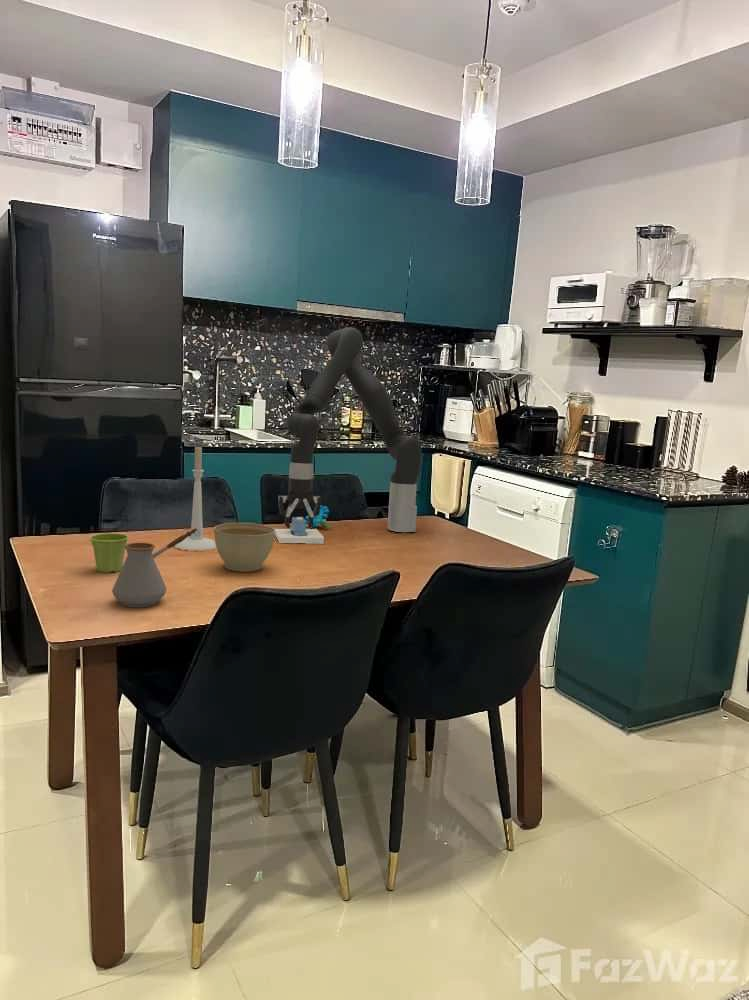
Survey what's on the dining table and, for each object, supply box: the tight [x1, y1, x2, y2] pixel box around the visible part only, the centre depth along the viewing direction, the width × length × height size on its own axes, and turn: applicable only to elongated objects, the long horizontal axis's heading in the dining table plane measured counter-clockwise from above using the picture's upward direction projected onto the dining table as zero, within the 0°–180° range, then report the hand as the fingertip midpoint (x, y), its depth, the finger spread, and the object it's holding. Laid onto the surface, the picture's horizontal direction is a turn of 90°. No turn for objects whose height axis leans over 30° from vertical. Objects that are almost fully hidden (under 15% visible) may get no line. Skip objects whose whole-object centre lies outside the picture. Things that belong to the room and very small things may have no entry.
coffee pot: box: [111, 528, 200, 608], centre depth 166 cm, size 21×12×15 cm, turn 140°
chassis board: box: [274, 528, 325, 545], centre depth 236 cm, size 14×13×2 cm
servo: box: [290, 516, 307, 536], centre depth 236 cm, size 4×9×7 cm, turn 14°
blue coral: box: [305, 504, 330, 529], centre depth 257 cm, size 11×6×10 cm
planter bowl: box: [213, 522, 276, 573], centre depth 196 cm, size 16×16×11 cm
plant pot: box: [89, 532, 129, 573], centre depth 187 cm, size 9×9×9 cm
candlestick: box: [175, 445, 216, 550], centre depth 216 cm, size 13×13×30 cm
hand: (298, 528), depth 236 cm, fingers open, 6 cm apart
